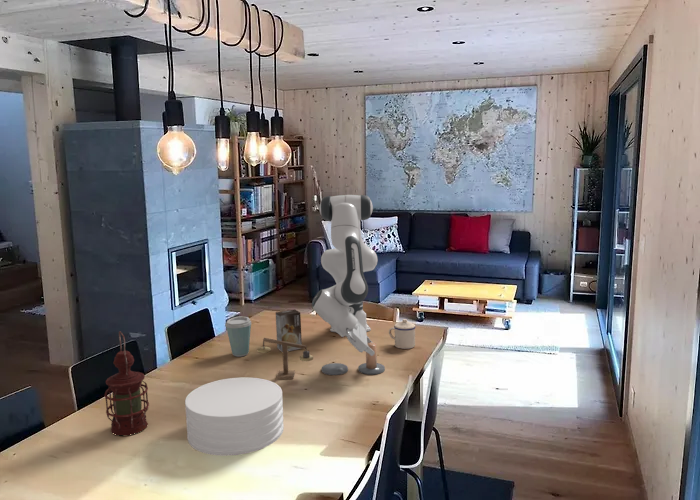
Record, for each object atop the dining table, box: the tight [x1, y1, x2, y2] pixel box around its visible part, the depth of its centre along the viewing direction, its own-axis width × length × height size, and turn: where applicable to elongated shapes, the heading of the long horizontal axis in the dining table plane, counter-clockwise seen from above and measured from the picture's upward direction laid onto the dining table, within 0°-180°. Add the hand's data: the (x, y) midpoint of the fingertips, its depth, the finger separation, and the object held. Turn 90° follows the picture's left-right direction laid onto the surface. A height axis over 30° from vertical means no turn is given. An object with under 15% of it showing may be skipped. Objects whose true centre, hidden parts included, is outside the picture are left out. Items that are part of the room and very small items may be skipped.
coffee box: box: [275, 309, 303, 353], centre depth 241 cm, size 9×6×16 cm
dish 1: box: [321, 362, 349, 376], centre depth 217 cm, size 10×10×1 cm
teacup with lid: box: [388, 318, 416, 350], centre depth 243 cm, size 12×9×12 cm
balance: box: [256, 337, 314, 380], centre depth 211 cm, size 6×21×15 cm, turn 90°
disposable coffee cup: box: [224, 315, 253, 358], centre depth 235 cm, size 11×11×15 cm
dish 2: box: [357, 362, 386, 376], centre depth 217 cm, size 10×10×1 cm
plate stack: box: [184, 376, 285, 456], centre depth 169 cm, size 28×28×12 cm
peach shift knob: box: [365, 342, 378, 369], centre depth 216 cm, size 4×4×9 cm
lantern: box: [104, 330, 150, 436], centre depth 170 cm, size 12×12×30 cm
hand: (372, 349), depth 215 cm, fingers open, 8 cm apart
